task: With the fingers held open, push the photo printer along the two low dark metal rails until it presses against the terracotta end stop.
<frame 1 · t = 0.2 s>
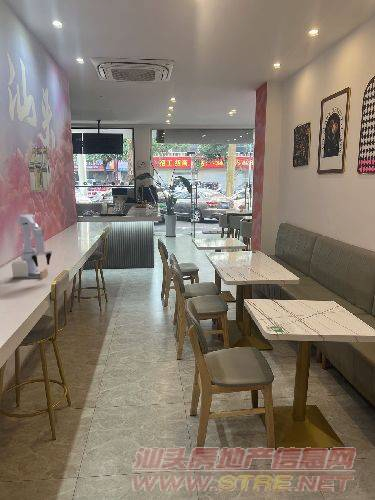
hand: (42, 265, 267), 11 cm above the counter, tool pointing down, fingers open, 7 cm apart
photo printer: (20, 277, 279), on the counter
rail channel: (29, 277, 279), on the counter
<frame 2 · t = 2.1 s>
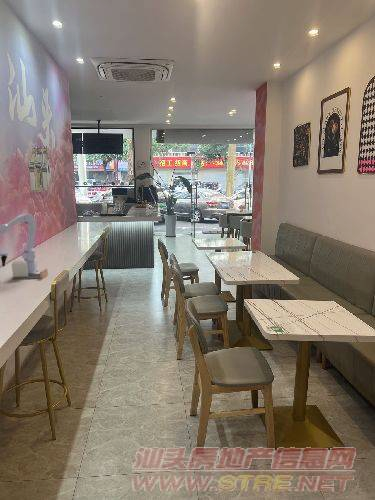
nothing on the counter moved.
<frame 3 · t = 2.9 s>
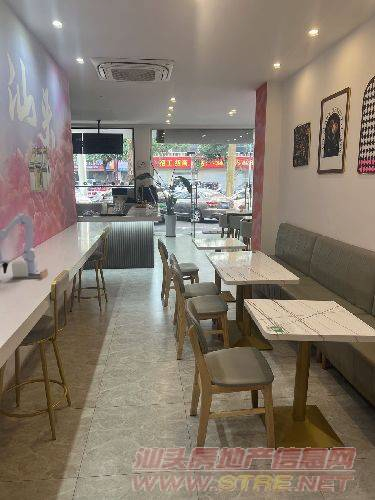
nothing on the counter moved.
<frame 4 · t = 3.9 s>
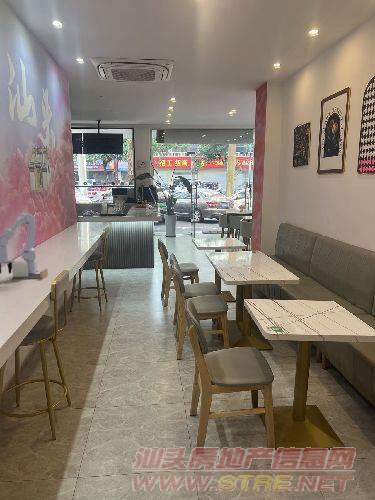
hand: (5, 273, 278), 3 cm above the counter, tool pointing down, fingers open, 6 cm apart
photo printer: (20, 277, 279), on the counter, touching gripper
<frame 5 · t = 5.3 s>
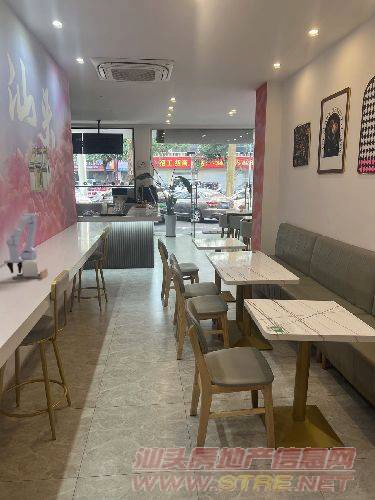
hand: (16, 272, 278), 3 cm above the counter, tool pointing down, fingers open, 5 cm apart
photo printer: (30, 277, 279), on the counter, touching gripper
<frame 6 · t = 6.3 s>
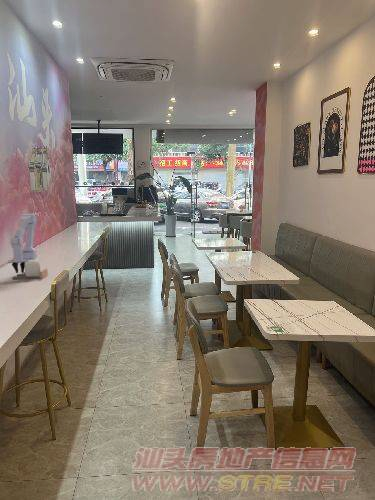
hand: (20, 272, 278), 4 cm above the counter, tool pointing down, fingers open, 3 cm apart
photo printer: (33, 277, 279), on the counter, touching gripper, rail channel
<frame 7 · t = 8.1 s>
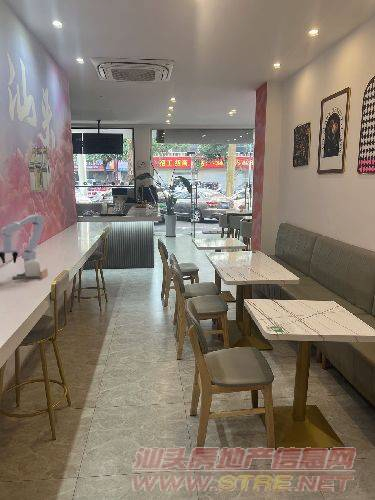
hand: (9, 262, 280), 10 cm above the counter, tool pointing down, fingers open, 7 cm apart
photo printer: (33, 277, 279), on the counter
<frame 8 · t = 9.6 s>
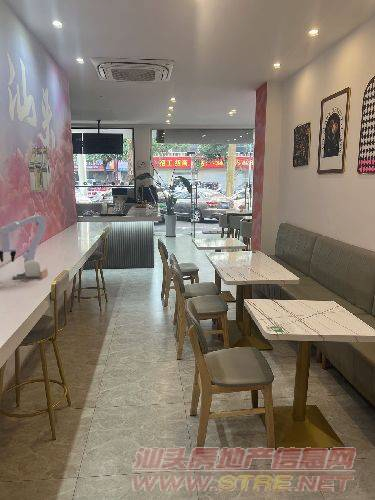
hand: (7, 261, 284), 10 cm above the counter, tool pointing down, fingers open, 7 cm apart
nothing on the counter moved.
at the end: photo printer 2.0 cm from the target spot, on the counter; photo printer tilted 0° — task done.
